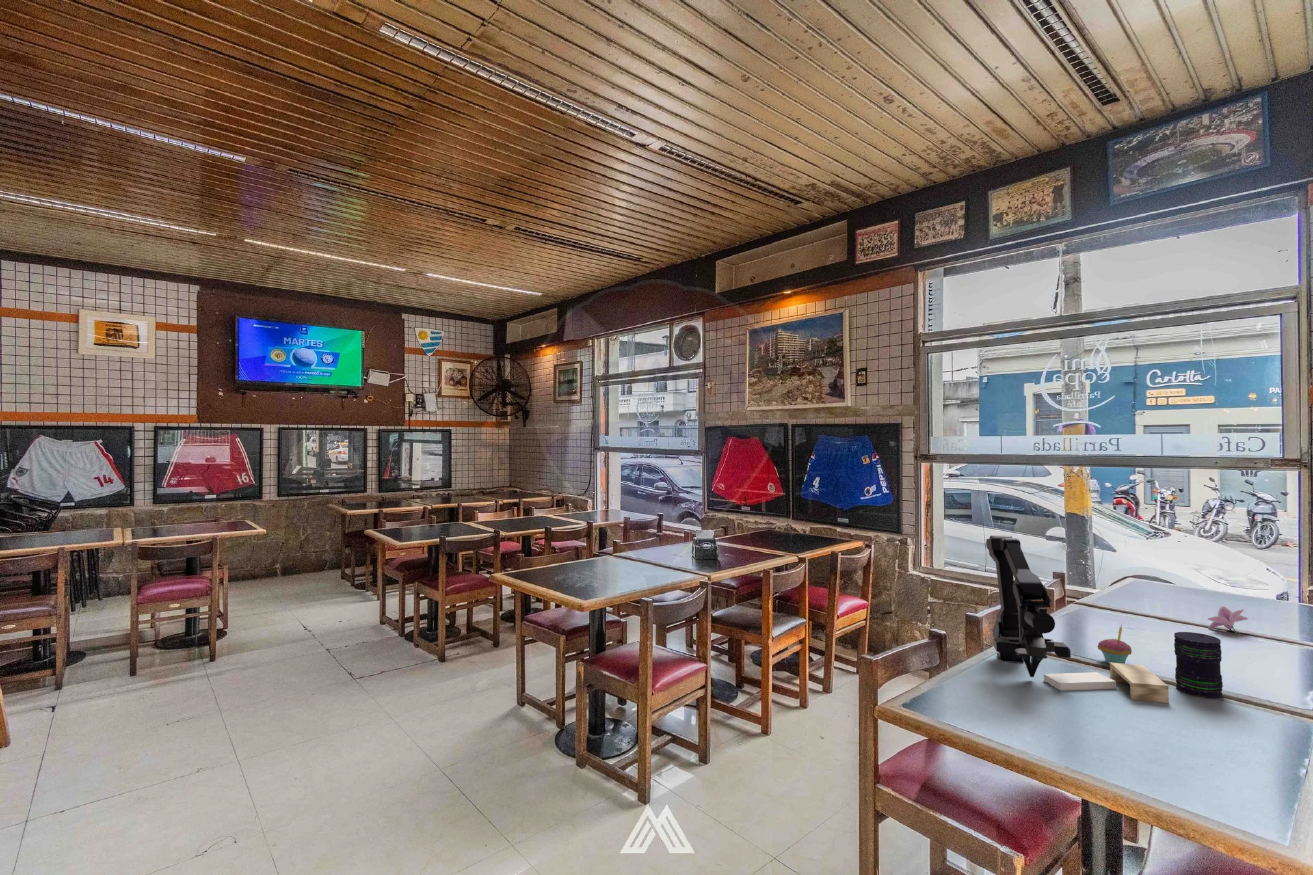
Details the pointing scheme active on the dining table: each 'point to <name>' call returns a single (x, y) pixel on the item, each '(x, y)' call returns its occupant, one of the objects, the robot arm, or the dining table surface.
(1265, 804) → the dining table surface
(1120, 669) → the beige block
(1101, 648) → the cupcake
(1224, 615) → the lily
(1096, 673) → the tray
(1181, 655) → the black disc stack
